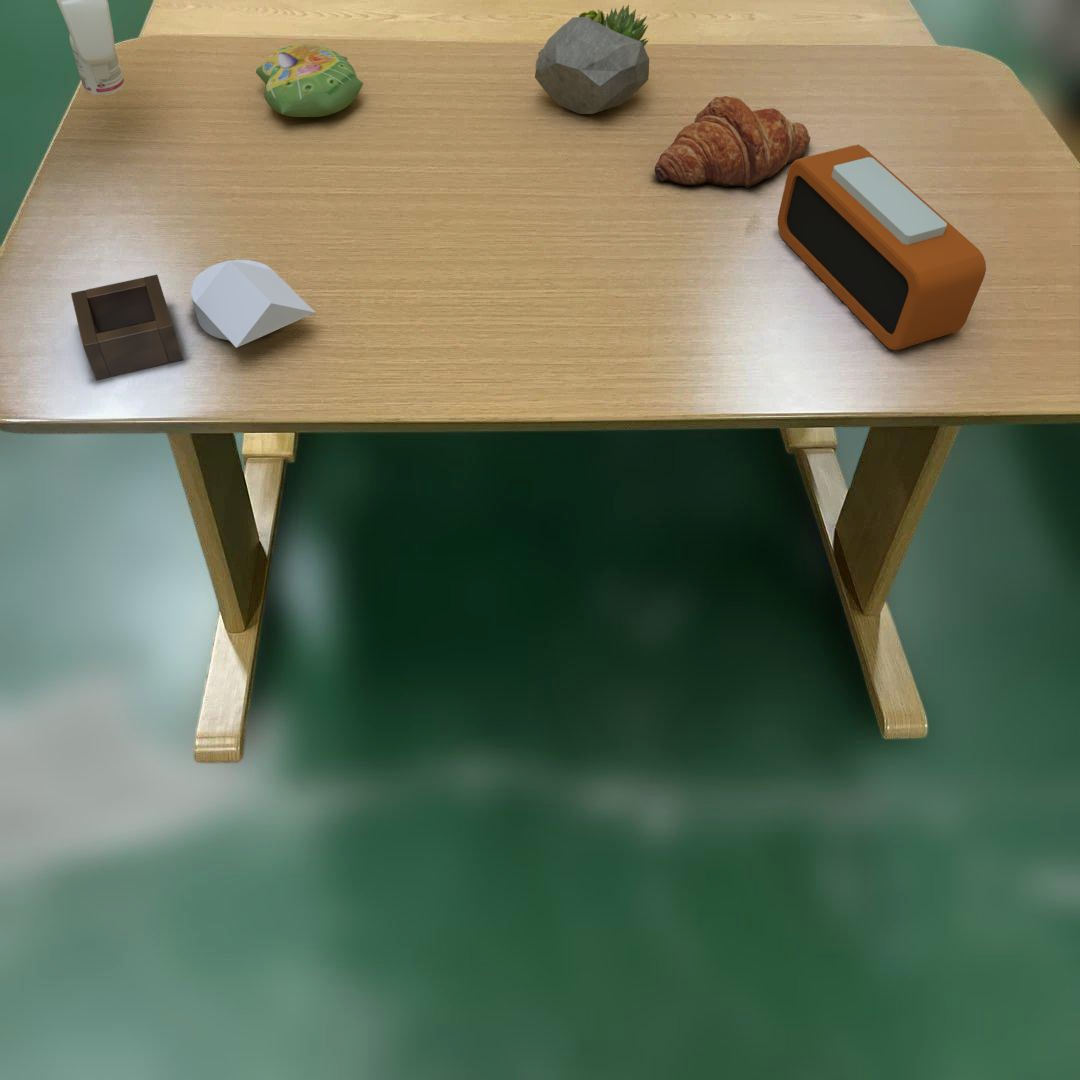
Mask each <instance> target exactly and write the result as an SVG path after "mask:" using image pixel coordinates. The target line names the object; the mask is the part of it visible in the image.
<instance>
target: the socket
mask: <svg viewBox="0 0 1080 1080" xmlns="http://www.w3.org/2000/svg"><path fill="white" fill-rule="evenodd" d="M70 296H71V300H72V304H73V307H74V308H73V309H74V312H75V316H76V322H77V326H78V327H77V328H78V331H79V335H80V340H81V343H82V347H83V350H84V353H85V355H86V358H87V360H88V363H89V365H90V369H91V371H92V373H93V376H94V378H95V380H96V381H98V380H103V379H108V378H110V377H116V376H120V375H124V374H128V373H133V372H137V371H140V370H145V369H150V368H153V367H158V366H162V365H167V364H170V363H176V362H179V361H183V360H184V357H183V355H182V351H181V348H180V344H179V341H178V337H177V334H176V331H175V327H174V323H173V320H172V318H171V315H170V310H169V308H168V304H167V301H166V298H165V295H164V292H163V288H162V285H161V282H160V278H159V276H158V274H152V275H148V276H143V277H138V278H134V279H129V280H125V281H120V282H116V283H111V284H107V285H102V286H97V287H93V288H87V289H83V290H78V291H74V292H71V293H70Z"/></svg>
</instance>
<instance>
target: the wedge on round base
mask: <svg viewBox="0 0 1080 1080" xmlns="http://www.w3.org/2000/svg"><path fill="white" fill-rule="evenodd" d="M190 296H191V300H192V303H193V307H194V311H195V315H196V319H197V322H198V325H199V327H200V328H201V329H202V331H204V332H206V333H207V334H208V335H210V336H212V337H214V338H217V339H221V340H223V341H224V340H225V341H229V342H230V343H231V344H232V345H233V346H234V347H235V348H236V349H237V348H239V347H241V346H243V345H246V344H248V343H251V342H253V341H255V340H258V339H260V338H261V337H264V336H267V335H268V334H271V333H273V332H275V331H277V330H279V329H282V328H284V327H286V326H289V325H291V324H293V323H295V322H298V321H300V320H302V319H305V318H306V317H309V316H311V315H314V314H316V311H315V310H314V309H313V308H312V307H311V306H310V305H309V304H308V303H307V302H306V301H305V300H304V299H303V298H302V297H301V296H300V295H299V294H298V293H297V292H296V291H295V290H294V289H293V288H292V287H291V286H290V285H289V284H288V283H286V281H285V280H284V279H282V278H281V276H279V274H277V272H276V271H274V269H273V268H271V267H270V266H268V265H267V264H264V263H263V262H259V261H257V260H251V259H250V260H249V259H232V260H231V259H228V260H226V261H222V262H218V263H216V264H213V265H211V266H209V267H207V268H205V269H204V270H203V271H202V270H201V272H200V273H198V275H196V277H195V278H194V279H193V281H192V283H191V286H190Z"/></svg>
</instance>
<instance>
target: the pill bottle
mask: <svg viewBox="0 0 1080 1080" xmlns="http://www.w3.org/2000/svg"><path fill="white" fill-rule="evenodd" d="M68 37H69V43H70V47H71V50H72V54H73V57H74V60H75V61H74V62H75V64H76V67H77V71H78V75H79V77H80V81H81V84H82V87H83V89H84V90H85V92H86V93H89V94H91V95H95V96H107V95H108V96H109V95H112V94H115V93H117V92H119V91H120V90H121V89H123V87H124V85H125V80H124V75H123V71H122V69H121V65H120V60H119V58H118V57H119V56H118V53H117V50H116V48H115V52H116V55H115V59H114V60H113V61H110V62H107V64H108V68H109V72H110V77H109V78H108V79H102V80H97V79H96V78H95V77H94V74H93V71H92V67H91V64H89V65H88V64H85V63H83V61H82V60H81V58H80V56H79V54H78V51H77V49H76V47H75V45H74V42H73V40H72V37H71V35H70V34H69V36H68Z"/></svg>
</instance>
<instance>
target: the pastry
mask: <svg viewBox="0 0 1080 1080" xmlns="http://www.w3.org/2000/svg"><path fill="white" fill-rule="evenodd" d="M810 143H811V136H810V134H809V130H808V128H807V127H806V126H805V124H803V123H801V122H792V121H791V120H789V119H788V118H786V116H784V114H783V113H781V111H780V110H778V109H776V108H773V107H772V108H771V107H770V108H763V109H756V110H752V109H751V108H750V107H749V106H748V105H747V104H746V103H745V102H744V101H743V100H741V99H740V98H737V97H734V96H727V95H725V96H715V97H714V98H713V99H711V100H710V102H709V103H707V105H706V106H705V107H704V108H703V109H702V110H700V111H699V112H698V113H696V116H695V118H694V122H693V123H690V124H688V125H686V126H684V127H683V128H682V129H681V130H680V131H679V132H678V133H677V135H676V137H675V139H674V141H673V142H672V143H671V144H670V146H669V147H668V148H667V149H665V150H664V151H663V152H662V153H661V154H660V156H659V158H658V160H657V162H656V164H655V166H654V174H655V176H656V179H657V180H659V181H660V182H667V181H669V182H672V183H675V184H679V185H684V186H697V185H703V184H705V185H707V184H708V185H717V186H721V187H733V186H735V187H745V188H747V189H748V188H751V187H752V186H754V185H757V184H759V183H761V182H762V181H764V180H766V179H771V178H772V177H774V176H775V175H776V174H777V173H779V172H780V170H782V168H783V167H784V166H787V164H789V163H790V164H791V163H793V162H794V161H795V160H796V159H800V158H801V156H802V155H803V154H804V153H805V152H806V151H807V149H808V147H809V146H810Z"/></svg>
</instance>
